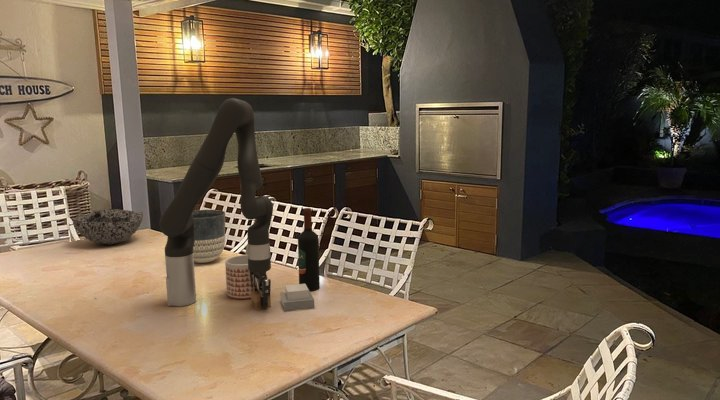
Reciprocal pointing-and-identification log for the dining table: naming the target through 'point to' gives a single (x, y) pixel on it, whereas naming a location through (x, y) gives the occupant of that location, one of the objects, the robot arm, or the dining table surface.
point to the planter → (208, 235)
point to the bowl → (108, 225)
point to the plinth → (296, 303)
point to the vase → (238, 277)
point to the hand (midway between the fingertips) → (261, 304)
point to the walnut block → (258, 300)
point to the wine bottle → (308, 254)
